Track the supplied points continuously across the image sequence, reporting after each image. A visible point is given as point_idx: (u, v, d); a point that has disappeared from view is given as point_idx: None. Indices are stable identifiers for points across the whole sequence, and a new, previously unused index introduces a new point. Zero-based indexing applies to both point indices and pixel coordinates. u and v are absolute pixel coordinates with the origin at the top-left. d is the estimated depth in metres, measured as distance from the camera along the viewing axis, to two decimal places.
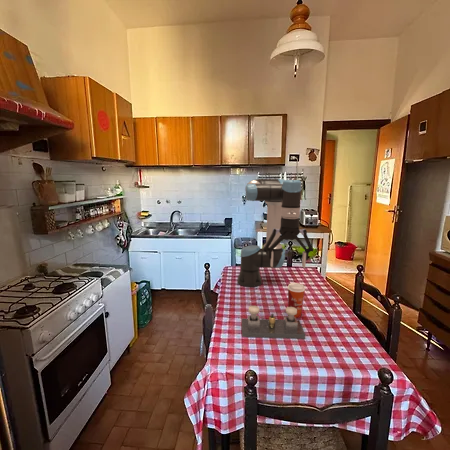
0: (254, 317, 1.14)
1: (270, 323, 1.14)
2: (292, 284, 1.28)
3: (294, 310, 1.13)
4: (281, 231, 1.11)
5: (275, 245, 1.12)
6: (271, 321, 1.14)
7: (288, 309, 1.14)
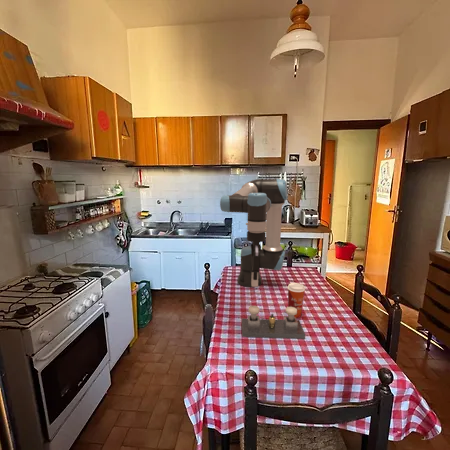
0: (254, 317, 1.14)
1: (270, 323, 1.14)
2: (292, 284, 1.28)
3: (294, 310, 1.13)
4: None
5: (252, 261, 1.12)
6: (271, 321, 1.14)
7: (288, 309, 1.14)
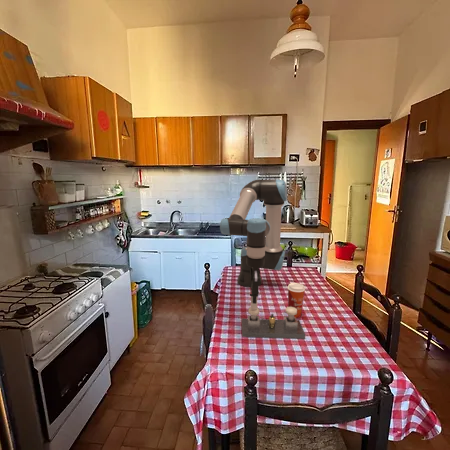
0: (254, 318, 1.14)
1: (270, 323, 1.14)
2: (292, 284, 1.28)
3: (294, 310, 1.13)
4: None
5: (251, 285, 1.14)
6: (271, 321, 1.14)
7: (288, 309, 1.14)
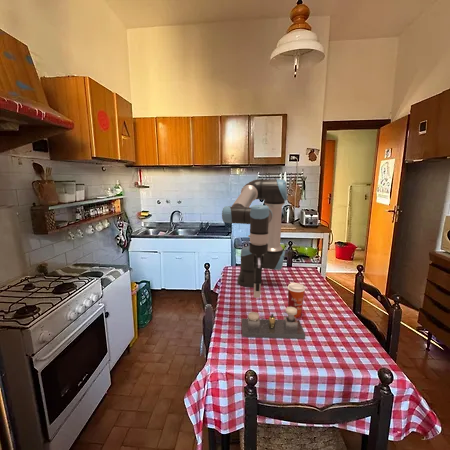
0: None
1: (270, 323, 1.14)
2: (292, 284, 1.28)
3: (294, 310, 1.13)
4: None
5: None
6: (271, 321, 1.14)
7: (288, 309, 1.14)
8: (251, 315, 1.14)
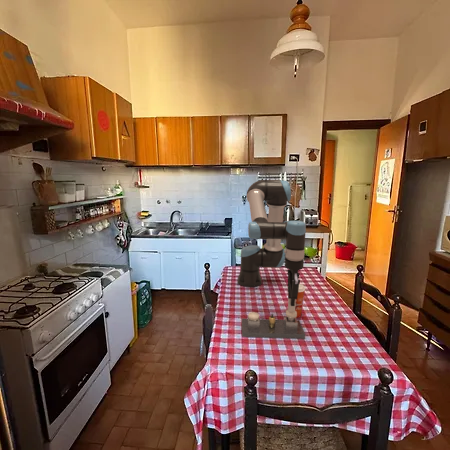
0: None
1: (270, 323, 1.14)
2: None
3: (294, 313, 1.13)
4: (289, 269, 1.14)
5: (289, 287, 1.13)
6: (271, 321, 1.14)
7: (288, 312, 1.14)
8: (251, 315, 1.14)
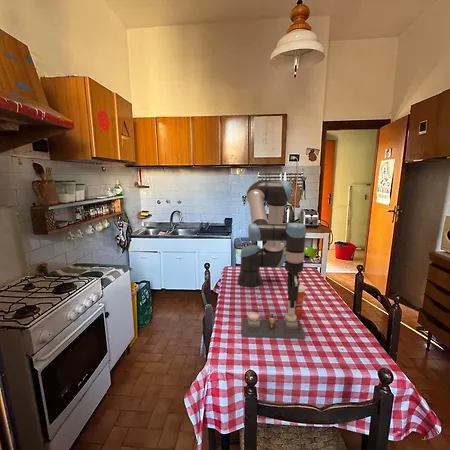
0: None
1: (270, 323, 1.14)
2: None
3: (294, 317, 1.13)
4: (289, 271, 1.14)
5: (288, 289, 1.14)
6: (271, 321, 1.14)
7: (288, 315, 1.14)
8: (251, 315, 1.14)
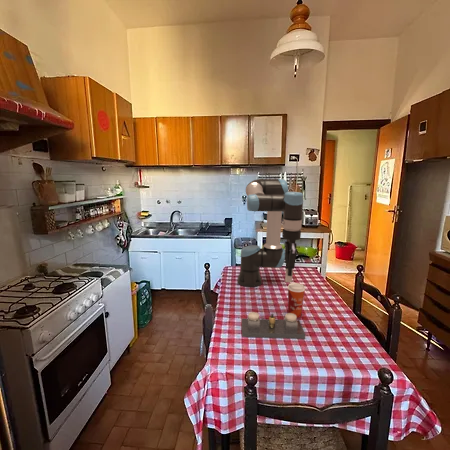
0: None
1: (270, 323, 1.14)
2: (292, 284, 1.28)
3: (294, 317, 1.13)
4: None
5: (286, 258, 1.16)
6: (271, 321, 1.14)
7: (288, 315, 1.14)
8: (251, 315, 1.14)
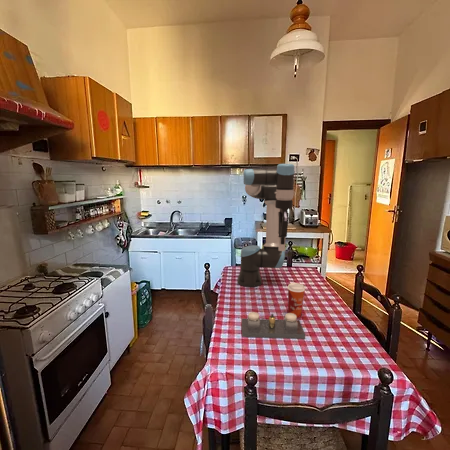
0: None
1: (270, 323, 1.14)
2: (292, 284, 1.28)
3: (294, 317, 1.13)
4: None
5: (279, 228, 1.22)
6: (271, 321, 1.14)
7: (288, 315, 1.14)
8: (251, 315, 1.14)
